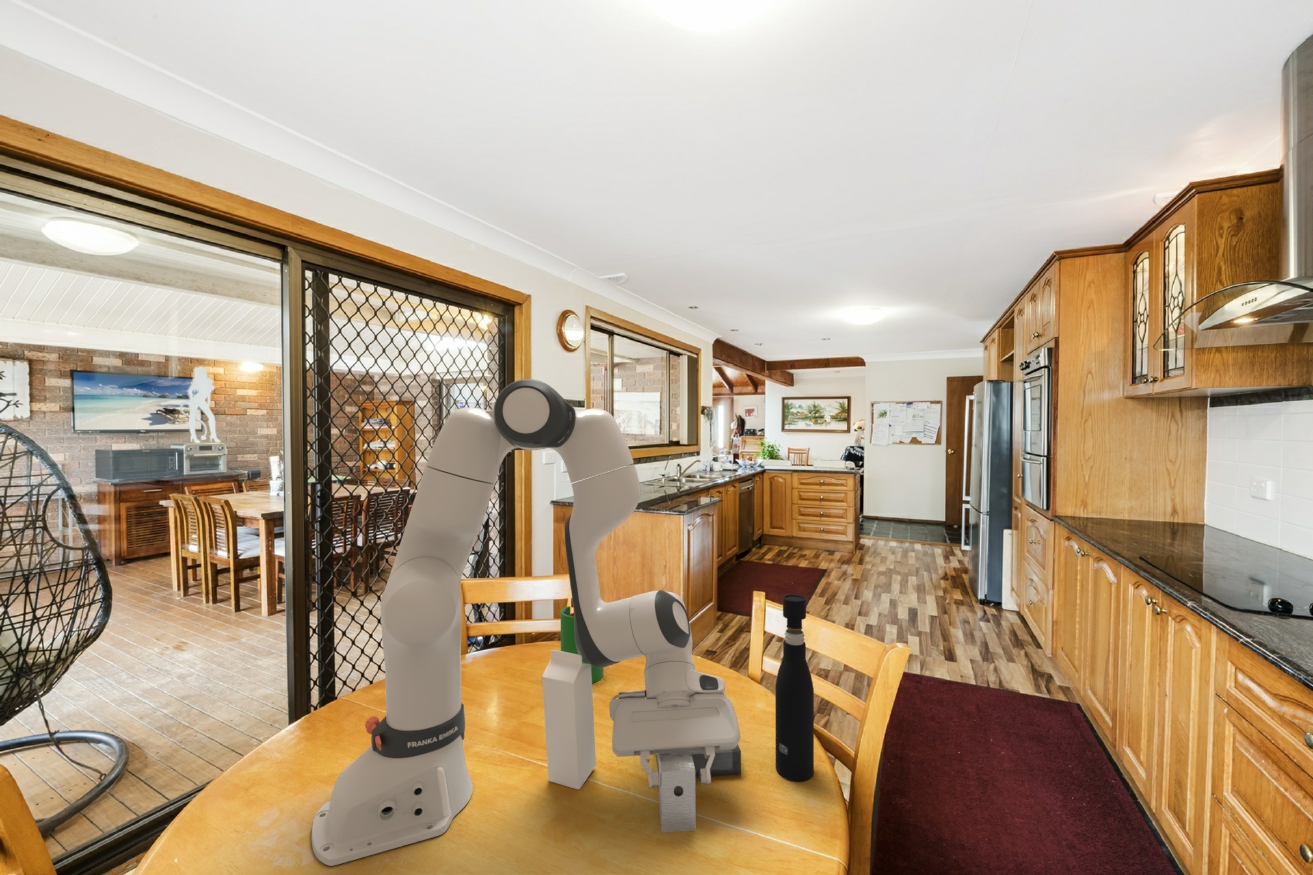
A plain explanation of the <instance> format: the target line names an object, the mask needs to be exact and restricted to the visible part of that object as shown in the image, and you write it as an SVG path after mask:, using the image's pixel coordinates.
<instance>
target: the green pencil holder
mask: <svg viewBox="0 0 1313 875" xmlns="http://www.w3.org/2000/svg"><path fill="white" fill-rule="evenodd" d="M571 608H573V601H572V597H571V598H570V606H566V607H563V608H562V609H561V610H560V651H562V652H568V653H573V654H578V655H579V653H578V651H577V648H576V644H575V635H574V612H572V613H571ZM582 663H587V664H589V663H588V662H586V661H585V660H584V659H583V658H582ZM591 674H592V684H595V683H597V682H599V681H600V680H602V678H604V668H601V669H599V668H596V667H594V666H592V665H591Z"/></svg>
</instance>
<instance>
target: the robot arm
mask: <svg viewBox="0 0 1313 875" xmlns="http://www.w3.org/2000/svg"><path fill="white" fill-rule="evenodd" d="M545 449H552V450H553V451H555V452H556V453H558V455H559V456H561V459H562V461H563V463H564V466H565V468H566V471H567V474H568V477H569V481H570V483H571V489H572V493H573V494H572V495H573V504H572V511H571V514H570V515H569V516H568V517H567V518H566V520H565V522H564V543H565V544H564V547H565V554H566V555H565V556H566V563H567V569H568V571H567V572H568V578H569V586H570V593H571V598H572V601H573V613H574V635H575V644H576V648H577V651H578V653H579V655H581V656H582V658H583V659H584V660H585V661H586V662H588V663H589V664H591V665H592V666H594V667H596V668H599V669H601V668H603V669H604V668H607V667H609V666H613V665H616V664H619V663H620V662H624V661H627V660H631V659H637V658H641V657H644V656H645V666H644V673H643V674H644V688H645V690H636V691H629V692H628V691H621V692H618V694H616V695H614V696H613V697H612V698H611V700H610V701H609V717H610V719H611V720H612V722H613V725H612V737H611V739H612V740H611V741H612V742H611V749H612V753H613V754H614V755H615V756H616V757H619V758H620V757H623V758H624V757H636V756H639V760H640V762H639V763H640V764H641V767H642V769H643V770H644V772H645V774H646V775H647V779H648V780H647V782H648V789H656V788H657V789H659V772H658V771H653V769H652V767H651V766H650V764H649V762H650V757H651V755H656V754H669V753H683V752H698V751H704V756H705V759H708V762H707V764H706V767H705V769H700V771H699V776H700V777H699V778H700V779H699V783H700V785H711V784H712V776H710V768H711V765H712V762H713V759H714V757H715V750H728V749H734V748H735V747H736V746H737V745H739V744H740V741H741V731H740V727H739V726H740V725H739V722H738V721H739V720H738V717H737V714H736V711H735V707H734V704H733V702H732V700H731V698H730V697H728V695H726V693H725V692H726V683H725V682H726V681H725V680H724V679H723V678H721V677H719V676H715V675H712V674H707V673H705V672H701V671H698V670H697V669H696V665H695V661H694V660H693V654H692V652H693V651H692V650H693V646H694V645H693V638H692V637H693V635H692V631H691V624H690V619H689V615H688V611H687V608H686V605H685V602H684V600H683V599H682V597H681V596H680V595H678V594H677V593H676V592H671V591H665V590H663V589H659V590H651V591H647V592H644V593H639V594H635V595H633V596H629V597H626V598H621V599H618V600H615V601H609V602H606V601H605V600H603V599H602V597H601V596H602V595H601V590H600V582H599V573H598V568H597V559H596V558H597V557H596V554H597V549H598V547H599V545H600V543H601V542H602V541H603V540H604V539H605V538H606V537H607V536H608V535H610V533H612V532H613V531H614V530H616V529H618V527H619V526H621V525H623V523H625V521H627V520H628V519H629V518H630V516H631V515H632V514H633V513H634V511H635V510H636V509H637V507H638V505H639V502H640V498H641V485H640V480H639V476H638V475H639V474H638V472H637V468H636V466H635V462H634V458H633V456H632V454H631V450H630V448H629V445H628V442H627V441H626V439H625V436H624V434H623V432H622V431H621V428H620V427H619V425H618V422H617V421H616V419H615V417H614V416H613V415H612V414H611V413H610V412H608V411H607V410H604V409H601V408H587V409H583V410H576V408H574V406H573V405H571V404H570V403H569V401H567V400H566V399H565V398H564V397H563V396H562V395H561V394H560V393H559V392H557V391H556V389H554V388H553V387H552V386H550V385H549V384H547V383H546V382H543V381H541V380H538V379H533V378H524V379H523V378H522V379H517V380H515V381H513V382H511V383H509V384H508V385H506V386H505V387H504V388H503V389H502V390H501V391H500V393H499V394H498V395H497V397H496V400H495V402H494V405H493V408H492V409H483V408H480V407H475V406H474V407H469V406H468V407H460V408H457V409H455V410H453V412H451V413H450V414H449V415H448V417H447V418H446V420H445V422H444V424H442V427H441V429H440V431H439V432H438V434H437V437H436V439H435V440H434V443H433V445H432V447H431V450H430V453H429V455H428V458H427V461H426V465H425V467H424V470H423V473H422V476H421V479H420V482H419V485H418V487H417V491H416V494H415V497H414V500H413V503H412V506H411V509H410V512H409V516H408V518H407V521H406V525H405V527H404V531H403V533H402V536H401V541H400V544H399V546H398V549H397V553H396V555H395V559H394V562H393V564H392V568H391V571H390V573H389V577H388V579H387V582H386V585H385V588H384V590H383V592H382V593H383V594H382V596H381V601H380V620H381V621H380V622H381V623H380V626H381V638H382V651H383V652H382V653H383V658H384V659H383V661H384V671H385V673H384V674H385V716H384V718H382V719H381V720H380V719H379V718H378V716H370V717H368V718H367V719H366V721H365V724H364V726H365V729H366V730H365V731H366V732H367V734H369V735H370V736H371V737H370V738H371V740H370V741H371V745H370V746H369V747H368V748H367V749H365V751H364V752H362V754H360V755H359V756H358V757H357V758H356V759H354V761H352V762H350V763H351V764H349V765H348V766H347V767H346V768H344V769H343V770H342V771H341V772H340V773H339V775H338V776H337V778H336V780H335V782H334V785H333V788H332V791H331V794H330V795H331V796H330V800H329V801H327V802H325V803H323V805H322V806H321V807H320V808H319V809H318V811H317V812H316V814H315V816H314V819H313V821H312V825H311V826H312V827H311V835H310V836H311V846H312V851H313V854H314V855H315V857H316V859H318V861H319V862H321V863H322V864H324V865H327V866H328V867H329V866H330V867H332V866H333V867H334V866H337V865H340V864H344V863H348V862H352V861H355V860H357V859H361V858H365V857H368V856H369V857H370V856H372V855H375V854H380V853H384V852H387V851H389V850H390V851H391V850H394V849H396V848H400V847H403V846H406V845H407V846H408V845H411V844H414V843H417V842H421V841H424V840H428V839H432V838H435V837H438V836H441V835H443V834H444V833H446V831H447V830H448V829H449V827H450V825H451V823H452V821H453V819H454V818H455V817H456V816H457V814H459V813H460V811H462V810H463V809H464V807H466V805H467V804H468V803H469V801H470V799H471V797H472V795H473V792H474V791H473V789H474V785H473V782H472V780H471V779H472V778H471V776H470V774H469V773H470V772H469V770H468V766H467V761H466V754H465V748H464V739H465V732H466V713H465V712H466V711H465V705H464V704H463V703H462V662H461V661H462V658H461V657H462V591H461V581H462V576H463V573H464V570H465V567H466V566H467V562H468V559H469V557H470V554H471V552H472V549H473V546H475V545H474V544H475V542H476V540H477V538H478V535H479V533H480V531H481V529H482V525H483V522H484V519H485V515H486V512H487V509H488V507H489V503H490V500H491V497H492V494H493V491H494V488H495V485H496V480H497V478H498V475H499V471H500V468H501V465H502V463H503V461H504V459H505V457H506V456H507V454H508V453H509V452H511V451H541V450H545Z"/></svg>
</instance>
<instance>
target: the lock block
mask: <svg viewBox="0 0 1313 875" xmlns="http://www.w3.org/2000/svg"><path fill="white" fill-rule="evenodd" d="M658 780H659V787H658V789H659V791H658V794H659V795H658V799H659V800H658V801H659V802H658V806H659V807H658V808H659V812H658V814H659V820H660V821H659V823H660V829H661V833H673V832H675V833H676V832H688V831H689V832H691V831H696V829H697V828H696V824H697V823H696V777H695V767H694V763H693V759H692V755H691V754H676V755H659V772H658Z"/></svg>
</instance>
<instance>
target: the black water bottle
mask: <svg viewBox="0 0 1313 875" xmlns="http://www.w3.org/2000/svg"><path fill="white" fill-rule="evenodd" d="M782 617H783V618H785V619H786V629H785V632H784V640H783V643H782V649H783V650H782V652H783V654H782V655H783V656H782V659H781V663H780V665H779V668H778V671H777V675H776V680H775V689H774V691H775V693H774V694H775V696H774V697H775V701H774V702H775V705H774V706H775V770H776V772H777V774H778V775H780V776H781V777H782V778H784V779H786V780H788V781H791V782H797V781H799V783H800V781H801V782H806V781H809V780H810V779H812V777H813V776H814V773H815V767H814V766H815V764H814V763H815V761H814V760H815V758H814V757H815V753H814V752H815V750H814V749H815V747H814V746H815V744H814V743H815V738H814V737H815V731H814V730H815V725H814V724H815V718H814V717H815V716H814V715H815V714H814V712H815V705H814V704H815V702H814V701H815V692H814V689H815V688H814V683H813V679H812V678H813V677H812V673H811V671H810V668H809V664H808V662H807V659H806V658H807V655H806V654H807V653H806V652H807V651H806V650H807V649H806V648H807V647H806V646H807V645H806V644H807V643H806V642H805V634H804V631H803V620H805V619H806V618H807V598H806V597H804V596H802V595H799V594H786V595H784V596H782Z"/></svg>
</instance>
